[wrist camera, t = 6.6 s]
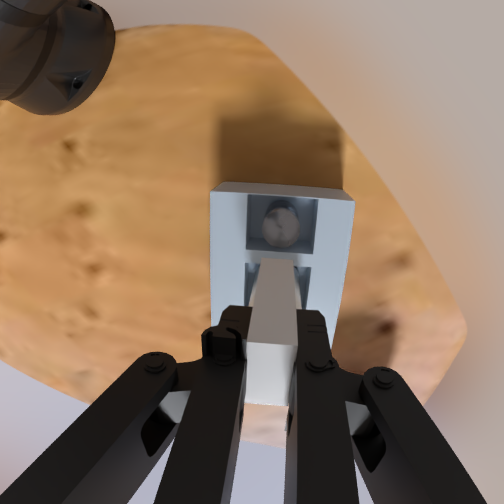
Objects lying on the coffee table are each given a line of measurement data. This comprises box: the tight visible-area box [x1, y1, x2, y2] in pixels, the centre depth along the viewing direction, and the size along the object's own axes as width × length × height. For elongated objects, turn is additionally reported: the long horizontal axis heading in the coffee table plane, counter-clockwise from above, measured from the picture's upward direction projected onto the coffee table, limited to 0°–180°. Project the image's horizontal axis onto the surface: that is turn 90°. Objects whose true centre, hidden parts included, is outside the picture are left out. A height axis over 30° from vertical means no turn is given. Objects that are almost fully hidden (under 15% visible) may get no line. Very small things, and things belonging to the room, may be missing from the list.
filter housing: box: [210, 181, 355, 348], centre depth 32 cm, size 12×18×6 cm, turn 178°
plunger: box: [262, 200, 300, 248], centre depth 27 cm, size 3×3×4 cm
